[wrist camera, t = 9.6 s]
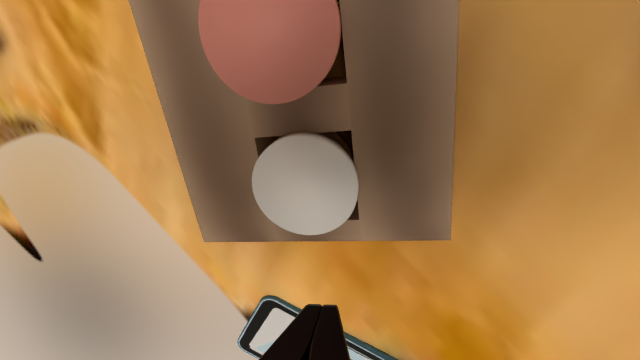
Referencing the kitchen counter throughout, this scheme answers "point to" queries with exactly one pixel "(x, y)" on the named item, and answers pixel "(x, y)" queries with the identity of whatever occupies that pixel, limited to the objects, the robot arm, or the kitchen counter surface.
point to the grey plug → (306, 182)
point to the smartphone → (277, 317)
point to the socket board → (319, 120)
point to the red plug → (270, 45)
